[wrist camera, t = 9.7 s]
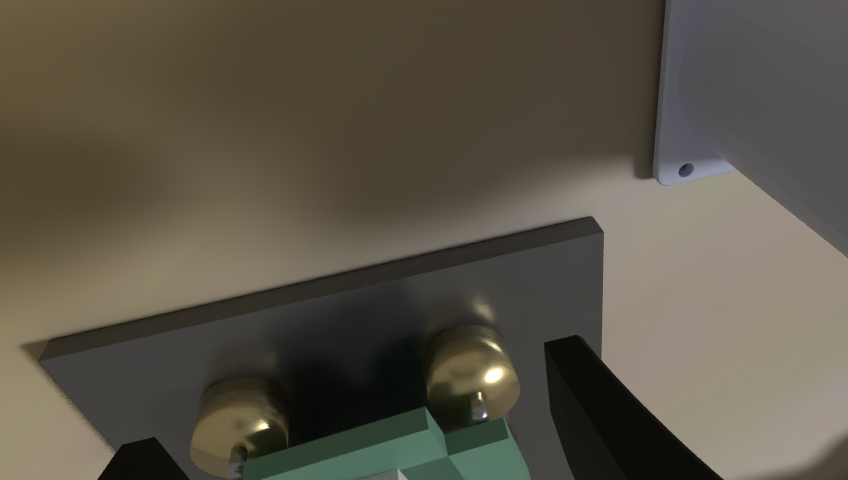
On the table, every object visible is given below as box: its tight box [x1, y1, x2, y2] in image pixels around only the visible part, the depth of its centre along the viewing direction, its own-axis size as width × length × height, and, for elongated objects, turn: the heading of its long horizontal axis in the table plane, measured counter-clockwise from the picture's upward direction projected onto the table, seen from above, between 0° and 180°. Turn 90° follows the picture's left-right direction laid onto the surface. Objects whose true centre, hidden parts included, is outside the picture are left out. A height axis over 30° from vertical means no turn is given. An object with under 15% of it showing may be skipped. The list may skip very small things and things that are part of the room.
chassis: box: [38, 217, 604, 480], centre depth 23 cm, size 20×16×4 cm
